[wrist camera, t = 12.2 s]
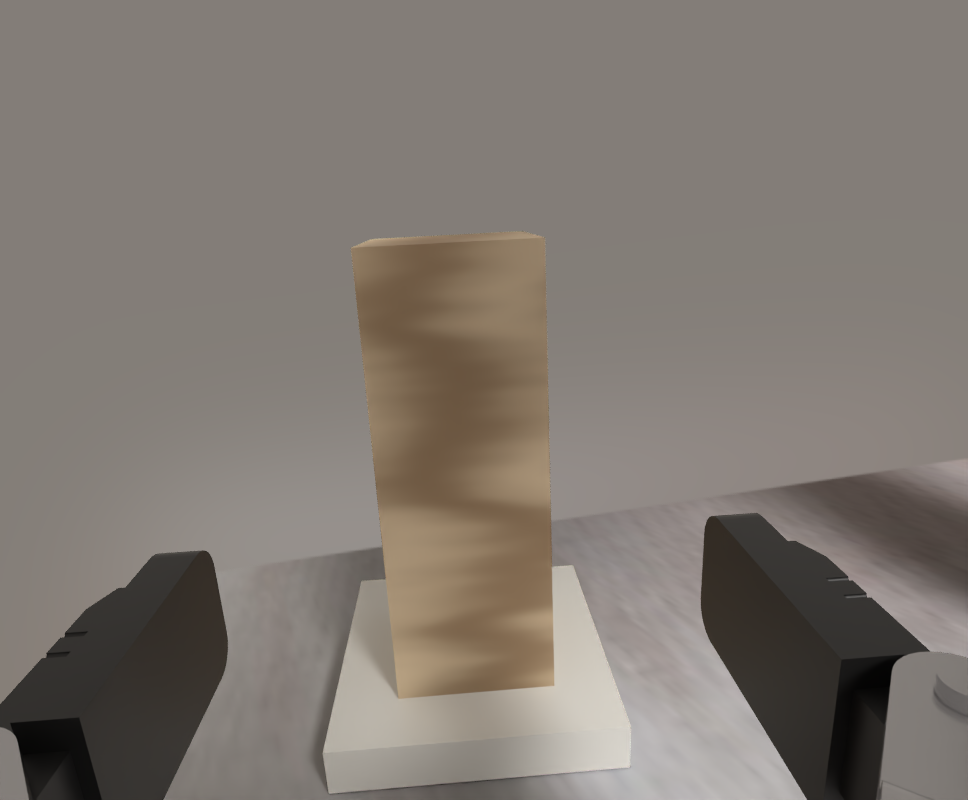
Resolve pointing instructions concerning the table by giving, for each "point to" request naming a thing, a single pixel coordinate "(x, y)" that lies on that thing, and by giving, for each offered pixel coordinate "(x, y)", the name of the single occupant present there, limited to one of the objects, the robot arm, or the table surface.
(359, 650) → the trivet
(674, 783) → the table surface
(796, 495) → the table surface
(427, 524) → the oak block
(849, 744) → the robot arm
